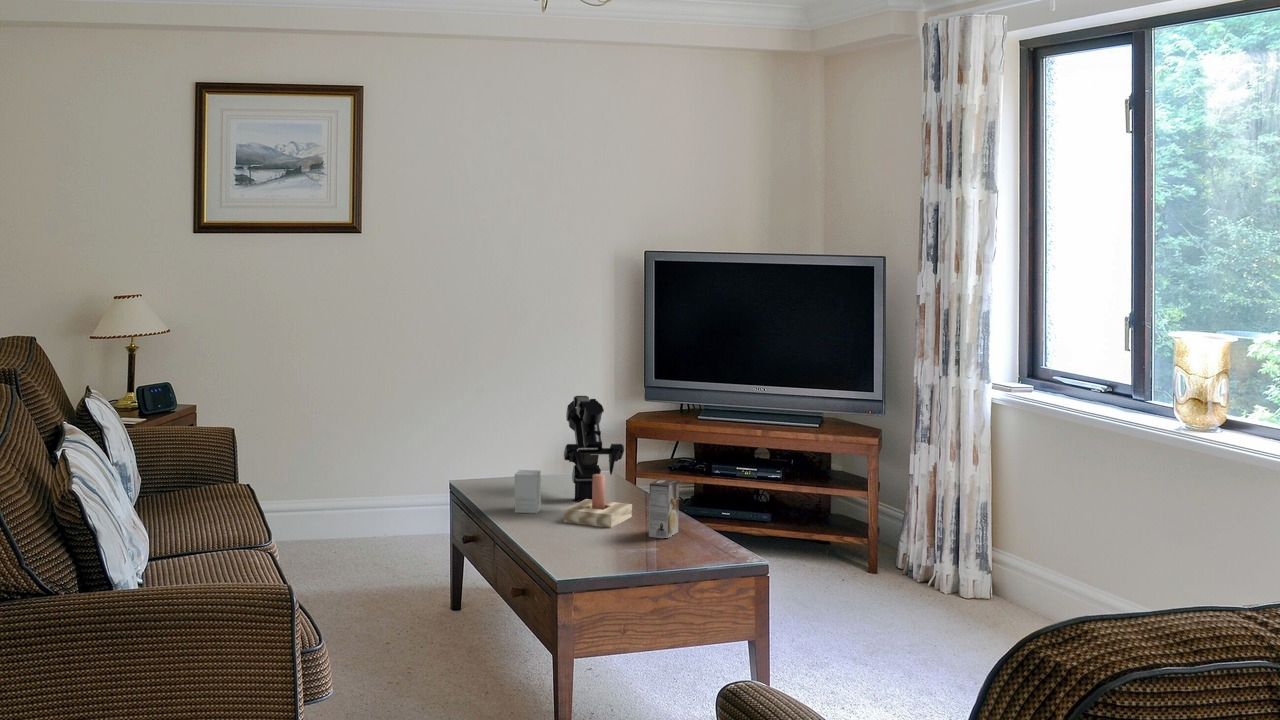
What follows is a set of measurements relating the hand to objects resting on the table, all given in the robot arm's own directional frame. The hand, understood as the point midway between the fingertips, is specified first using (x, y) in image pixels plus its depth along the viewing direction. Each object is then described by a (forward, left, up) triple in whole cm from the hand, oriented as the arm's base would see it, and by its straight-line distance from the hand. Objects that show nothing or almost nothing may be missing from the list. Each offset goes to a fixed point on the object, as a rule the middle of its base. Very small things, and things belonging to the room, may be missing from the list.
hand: (597, 474), depth 344 cm
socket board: (+2, -3, -13) cm, 14 cm away
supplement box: (-23, -3, -14) cm, 27 cm away
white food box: (+27, -11, -14) cm, 33 cm away
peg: (+2, -3, -13) cm, 14 cm away
